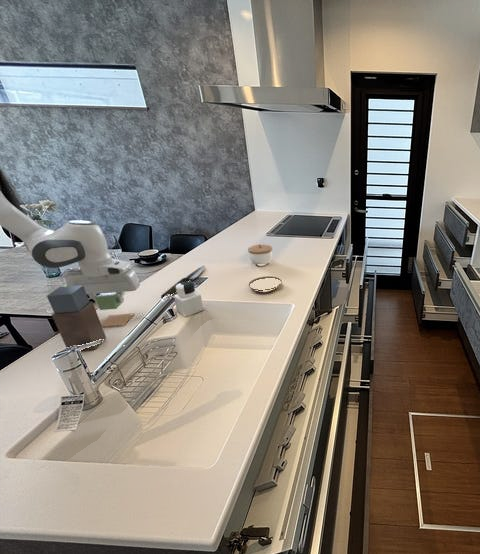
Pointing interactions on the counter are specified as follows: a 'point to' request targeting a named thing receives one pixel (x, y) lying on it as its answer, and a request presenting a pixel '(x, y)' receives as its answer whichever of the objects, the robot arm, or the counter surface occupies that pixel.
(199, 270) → the kitchen knife
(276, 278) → the plant saucer
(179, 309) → the medicine bottle
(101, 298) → the green box
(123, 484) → the counter surface
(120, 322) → the cork mat
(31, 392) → the counter surface
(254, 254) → the lidded bowl
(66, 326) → the storage box
